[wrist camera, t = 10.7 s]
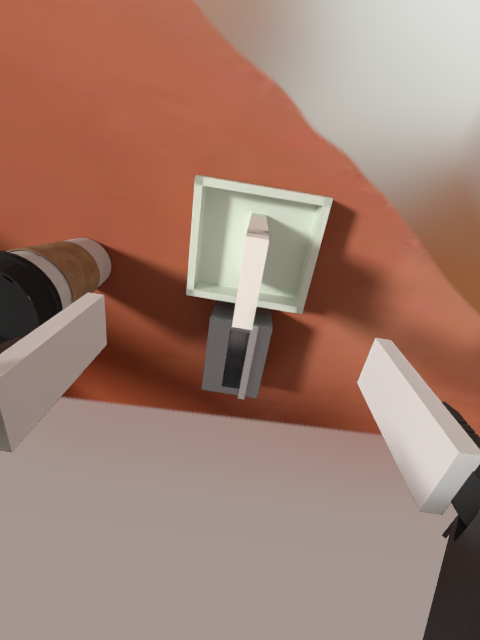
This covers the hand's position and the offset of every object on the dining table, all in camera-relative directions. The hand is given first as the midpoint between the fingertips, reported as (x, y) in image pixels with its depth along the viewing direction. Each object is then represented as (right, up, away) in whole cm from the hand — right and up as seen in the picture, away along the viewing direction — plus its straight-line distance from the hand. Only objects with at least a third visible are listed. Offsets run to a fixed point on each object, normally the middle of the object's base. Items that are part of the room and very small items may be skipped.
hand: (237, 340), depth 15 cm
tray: (+2, +10, +20) cm, 23 cm away
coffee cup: (-19, +8, +23) cm, 31 cm away
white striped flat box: (+2, +10, +20) cm, 22 cm away
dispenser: (0, -1, +26) cm, 26 cm away
